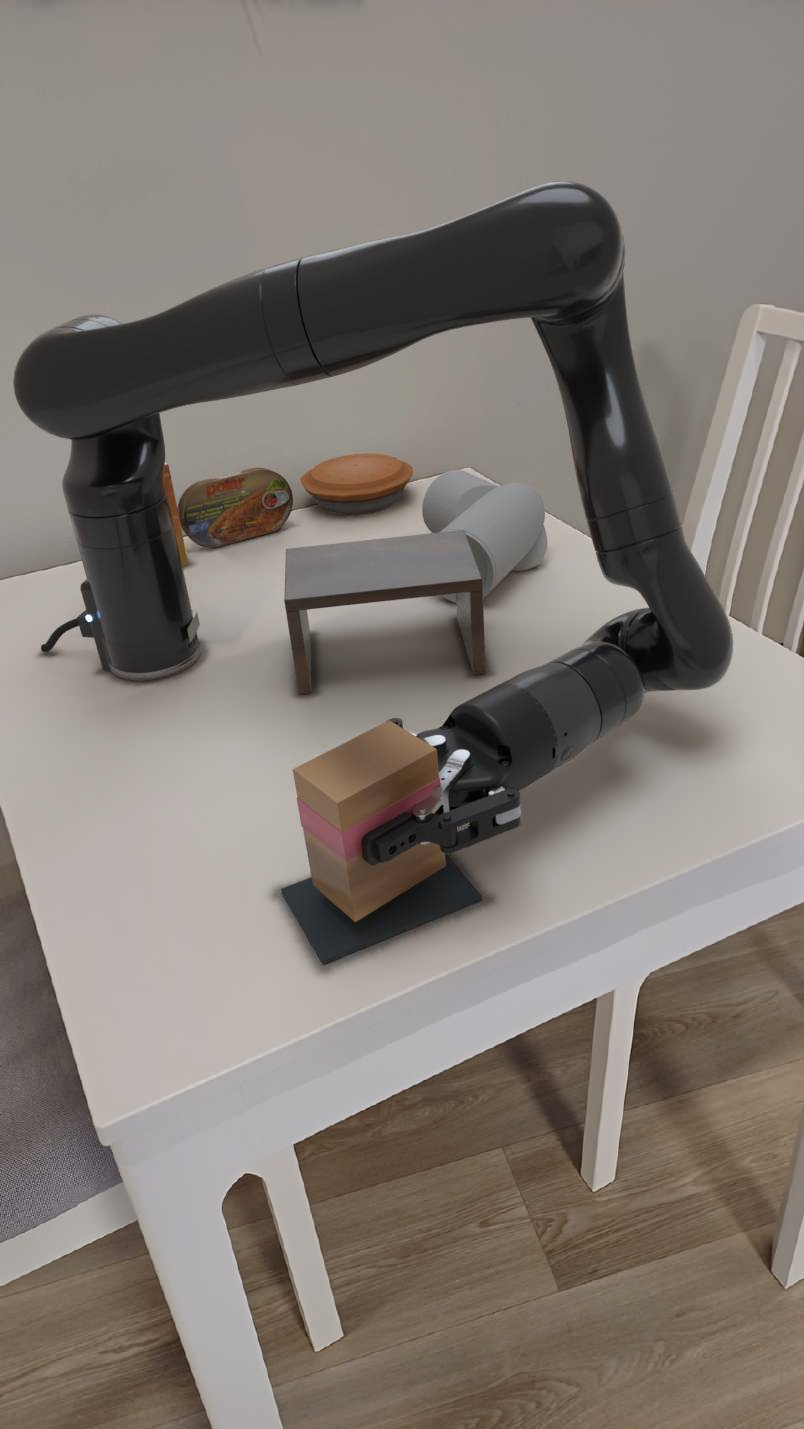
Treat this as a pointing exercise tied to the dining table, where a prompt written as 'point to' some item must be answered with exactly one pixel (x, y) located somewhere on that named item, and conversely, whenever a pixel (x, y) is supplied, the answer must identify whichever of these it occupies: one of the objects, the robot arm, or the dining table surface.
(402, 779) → the block
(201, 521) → the tin
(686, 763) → the dining table surface
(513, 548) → the bent grey cylinder
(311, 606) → the shelf
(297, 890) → the mat
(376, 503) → the pie
